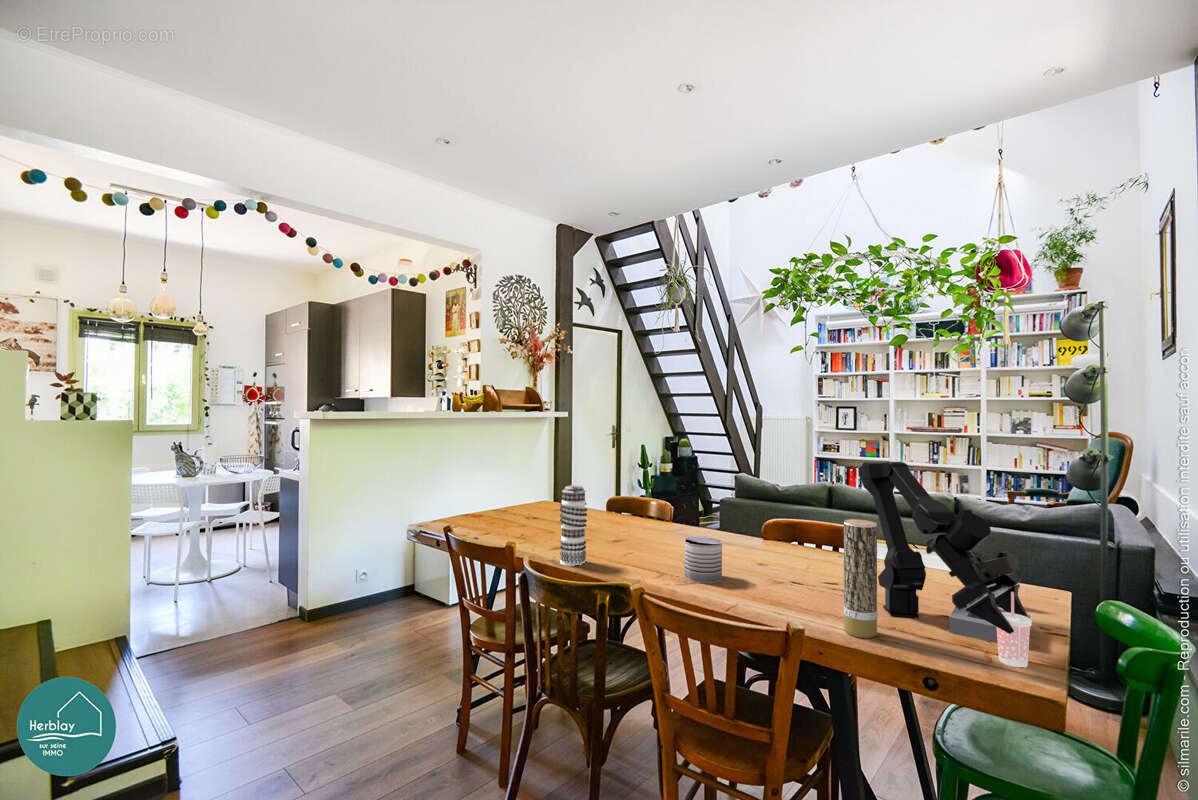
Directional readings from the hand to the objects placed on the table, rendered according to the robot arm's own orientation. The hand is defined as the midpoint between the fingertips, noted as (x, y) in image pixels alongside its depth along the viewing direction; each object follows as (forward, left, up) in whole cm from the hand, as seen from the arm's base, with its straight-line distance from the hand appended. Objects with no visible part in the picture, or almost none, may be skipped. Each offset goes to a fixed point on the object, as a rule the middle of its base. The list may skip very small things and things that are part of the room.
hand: (1020, 628), depth 111 cm
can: (-61, +48, -7) cm, 78 cm away
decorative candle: (-103, +57, -7) cm, 118 cm away
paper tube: (-27, +11, -7) cm, 30 cm away
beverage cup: (-1, +1, -7) cm, 7 cm away
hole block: (+3, +18, -7) cm, 20 cm away
